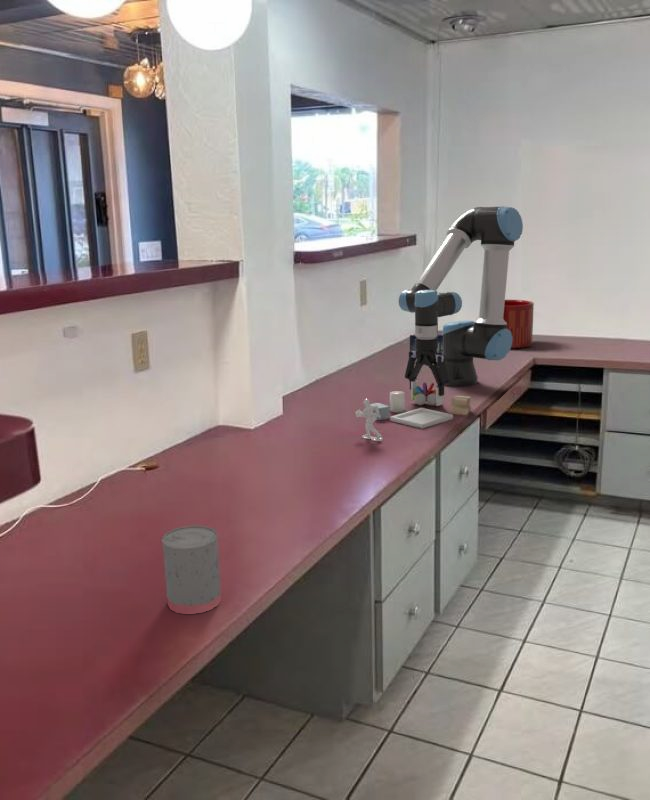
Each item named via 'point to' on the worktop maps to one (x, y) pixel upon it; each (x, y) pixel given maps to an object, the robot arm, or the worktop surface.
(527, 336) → the planter
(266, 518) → the worktop surface
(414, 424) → the tray
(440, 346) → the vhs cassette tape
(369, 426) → the figurine
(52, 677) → the worktop surface
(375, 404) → the slate block
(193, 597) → the speckled grey cylinder
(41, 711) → the worktop surface
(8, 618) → the worktop surface
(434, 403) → the multicoloured rounded cluster
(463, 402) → the oak block
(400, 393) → the white domed cylinder
